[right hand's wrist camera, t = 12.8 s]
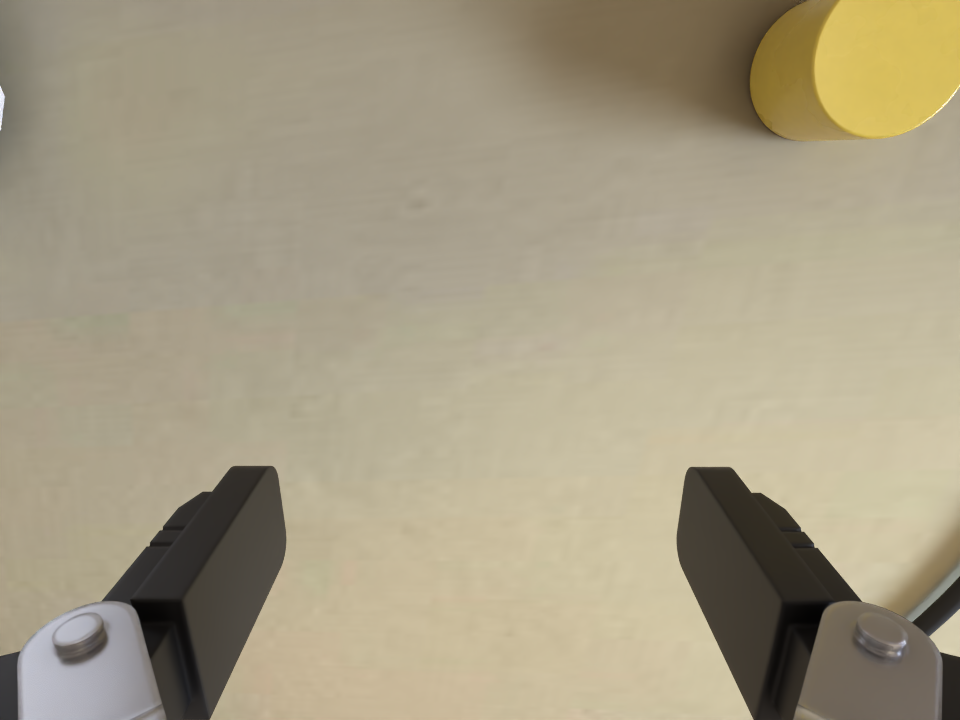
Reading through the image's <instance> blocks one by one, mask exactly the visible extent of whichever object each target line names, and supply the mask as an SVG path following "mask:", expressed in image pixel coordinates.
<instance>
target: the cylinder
mask: <svg viewBox="0 0 960 720" xmlns="http://www.w3.org/2000/svg"><path fill="white" fill-rule="evenodd" d="M959 87H960V0H808V1H805V2H803V3H801V4H799V5H797V6H795V7H794V8H792V9H790V10H789V11H787V12H786V13H785V14H784V15H782V16H781V17H780V18H779V19H778V20H777V21H776V22H775V23H774V24H773V25H772V26H771V28H770V29H769V30H768V31H767V33H766V34H765V36H764V37H763V39H762V41H761V42H760V45H759V47H758V49H757V51H756V54H755V56H754V59H753V63H752V67H751V74H750V92H751V98H752V102H753V105H754V108H755V110H756V112H757V114H758V116H759V117H760V119H761V120H762V122H763V123H764V124H765V125H766V126H767V127H768V128H769V129H770V130H771V131H773V132H774V133H776V134H777V135H779V136H782V137H784V138H787V139H790V140H795V141H824V140H854V139H882V138H888V137H893V136H897V135H900V134H903V133H905V132H908V131H910V130H912V129H914V128H916V127H918V126H920V125H921V124H923V123H924V122H926V121H927V120H929V119H930V118H931V117H933V116H934V115H935V114H936V113H937V112H939V111H940V110H941V109H942V108H943V107H944V106H945V105H946V104H947V103H948V102H949V100H950V99H951V98H952V97H953V95H954V94H955V93H956V91H957V90H958V89H959Z"/></svg>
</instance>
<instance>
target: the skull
mask: <svg viewBox="0 0 960 720" xmlns="http://www.w3.org/2000/svg"><path fill="white" fill-rule="evenodd" d="M4 99H5V96H4V94H3V91H2V89H1V87H0V130H1V123H2V115H3V107H4Z"/></svg>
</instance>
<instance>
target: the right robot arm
mask: <svg viewBox="0 0 960 720" xmlns="http://www.w3.org/2000/svg"><path fill="white" fill-rule="evenodd" d="M285 550H286V529H285V522H284V515H283V508H282V500H281V493H280V486H279V479H278V474H277V471H276V469H275V468H274V467H273V466H233V467H231V468H230V469H229V471H228V472H227V473H226V474H225V476H224V477H223V478H222V480H221V481H220V482H219V484H218V485H217V486H216V487H215V489H214V490H213V491H212V492H202V493H200V494H199V495H197V496H196V497H194V498H193V499H191V500H190V501H188V502H187V503H185V504H184V505H182V506H181V507H179V508H178V509H177V510H176V512H175V513H174V514H173V515H172V516H171V518H170V519H169V520H168V521H167V523H166V524H165V525H164V526H163V530H162V531H159V532H158V533H157V535H156V536H155V537H154V538H153V540H152V541H151V542H150V546H149V547H146V548H145V549H144V550H143V552H142V553H141V554H140V555H139V557H138V558H137V559H136V560H135V561H134V563H133V564H132V565H131V566H130V567H129V569H128V570H127V571H126V572H125V574H124V575H123V576H122V577H121V578H120V580H119V581H118V582H117V583H116V584H115V586H114V587H113V588H112V589H111V591H110V592H109V593H108V594H107V595H106V597H105V598H104V599H103V600H102V601H101V602H95V603H91V604H87V605H84V606H81V607H78V608H75V609H73V610H70V611H68V612H66V613H64V614H62V615H60V616H58V617H56V618H55V619H53V620H52V621H50V622H48V623H47V624H46V625H44V626H43V627H42V628H40V629H39V630H38V631H37V632H36V633H35V634H34V635H33V636H32V637H31V638H30V639H29V640H28V641H27V642H26V644H25V645H24V647H23V648H22V650H21V651H20V652H16V653H12V654H7V655H3V656H0V720H210V718H211V716H212V713H213V711H214V709H215V707H216V705H217V703H218V701H219V698H220V696H221V694H222V692H223V690H224V688H225V686H226V684H227V681H228V679H229V677H230V675H231V673H232V671H233V669H234V666H235V664H236V662H237V660H238V658H239V656H240V654H241V651H242V649H243V647H244V645H245V643H246V641H247V639H248V637H249V634H250V632H251V630H252V628H253V626H254V624H255V622H256V619H257V617H258V615H259V613H260V611H261V609H262V607H263V605H264V602H265V600H266V598H267V596H268V594H269V592H270V590H271V587H272V585H273V583H274V581H275V579H276V577H277V575H278V572H279V570H280V568H281V566H282V563H283V560H284V556H285ZM677 551H678V557H679V561H680V564H681V567H682V569H683V571H684V574H685V576H686V578H687V580H688V582H689V584H690V586H691V588H692V590H693V593H694V595H695V597H696V599H697V601H698V603H699V605H700V607H701V609H702V612H703V614H704V616H705V618H706V620H707V622H708V624H709V626H710V628H711V631H712V633H713V635H714V637H715V639H716V641H717V643H718V645H719V647H720V650H721V652H722V654H723V656H724V658H725V660H726V662H727V664H728V666H729V669H730V671H731V673H732V675H733V677H734V679H735V681H736V683H737V685H738V688H739V690H740V692H741V694H742V696H743V698H744V700H745V702H746V704H747V706H748V709H749V711H750V713H751V715H752V717H753V719H754V720H960V657H957V656H953V655H948V654H945V653H941V652H939V650H938V648H937V647H936V645H935V644H934V642H933V641H932V640H931V639H930V638H929V636H930V635H931V634H932V633H934V632H935V631H936V630H937V629H938V628H939V627H940V626H941V625H943V624H944V623H945V622H946V621H947V620H948V619H949V618H950V617H951V616H952V615H953V614H955V613H956V612H957V611H958V610H959V609H960V577H959V578H958V579H957V580H956V581H955V582H954V583H953V584H952V585H951V586H950V587H949V588H948V589H947V590H946V591H945V592H944V593H943V594H942V595H941V596H940V597H939V598H938V599H937V600H936V601H935V602H934V603H933V604H932V605H931V606H930V607H929V608H928V609H927V610H926V611H924V612H923V613H922V614H921V615H920V616H919V617H918V618H917V619H915V620H914V621H913V622H910V621H908V620H907V619H905V618H904V617H902V616H900V615H898V614H896V613H894V612H892V611H890V610H887V609H885V608H882V607H879V606H876V605H873V604H869V603H865V602H862V601H861V600H860V599H859V597H858V596H857V595H856V594H855V592H854V591H853V590H852V589H851V588H850V586H849V585H848V584H847V583H846V582H845V580H844V579H843V578H842V577H841V576H840V574H839V573H838V572H837V571H836V570H835V568H834V567H833V566H832V565H831V564H830V562H829V561H828V560H827V559H826V558H825V556H824V555H823V554H822V553H821V552H820V550H819V549H818V548H815V547H814V543H813V542H812V541H811V540H810V538H809V537H808V536H807V535H806V534H805V532H801V528H800V526H799V525H798V524H797V523H796V522H795V520H794V519H793V518H792V517H791V516H790V514H789V513H788V512H787V511H786V510H785V509H784V508H783V507H781V506H780V505H778V504H777V503H775V502H774V501H772V500H771V499H769V498H768V497H766V496H765V495H763V494H762V493H751V492H750V490H749V489H748V488H747V486H746V485H745V484H744V483H743V481H742V480H741V479H740V477H739V476H738V475H737V474H736V472H735V471H734V470H733V469H732V468H730V467H690V468H689V469H688V470H687V472H686V476H685V481H684V488H683V495H682V502H681V509H680V516H679V523H678V530H677Z"/></svg>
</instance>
